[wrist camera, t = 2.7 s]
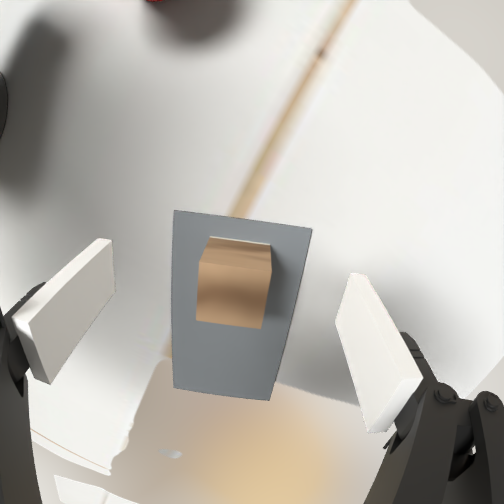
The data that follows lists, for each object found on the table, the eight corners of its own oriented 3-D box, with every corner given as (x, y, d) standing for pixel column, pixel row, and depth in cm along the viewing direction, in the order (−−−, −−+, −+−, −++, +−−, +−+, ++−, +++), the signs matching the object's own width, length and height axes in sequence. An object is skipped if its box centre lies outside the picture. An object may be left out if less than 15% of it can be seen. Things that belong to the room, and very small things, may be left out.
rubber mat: (174, 210, 35) (173, 210, 35) (311, 228, 36) (311, 229, 35) (174, 386, 47) (173, 387, 47) (269, 399, 48) (269, 400, 47)
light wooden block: (210, 235, 36) (199, 261, 30) (269, 244, 36) (271, 271, 30) (205, 287, 39) (195, 320, 32) (261, 295, 39) (261, 329, 33)
